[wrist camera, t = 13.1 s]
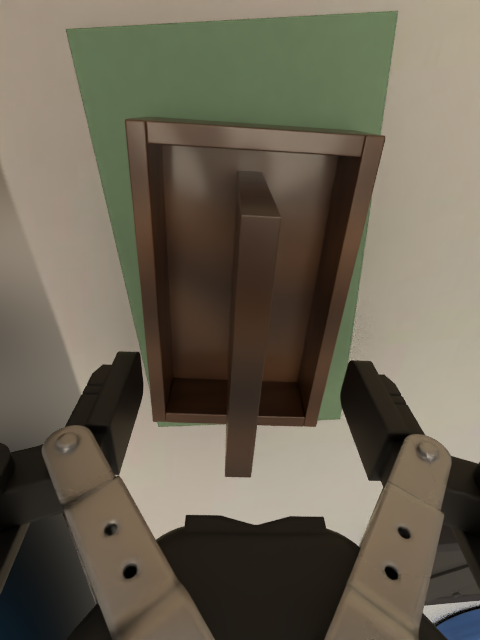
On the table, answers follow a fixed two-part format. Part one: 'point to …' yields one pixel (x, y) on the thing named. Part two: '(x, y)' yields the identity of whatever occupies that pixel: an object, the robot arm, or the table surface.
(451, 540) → the picture frame
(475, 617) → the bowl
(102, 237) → the table surface
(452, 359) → the table surface
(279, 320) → the cutlery caddy
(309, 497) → the table surface
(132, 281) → the mat
